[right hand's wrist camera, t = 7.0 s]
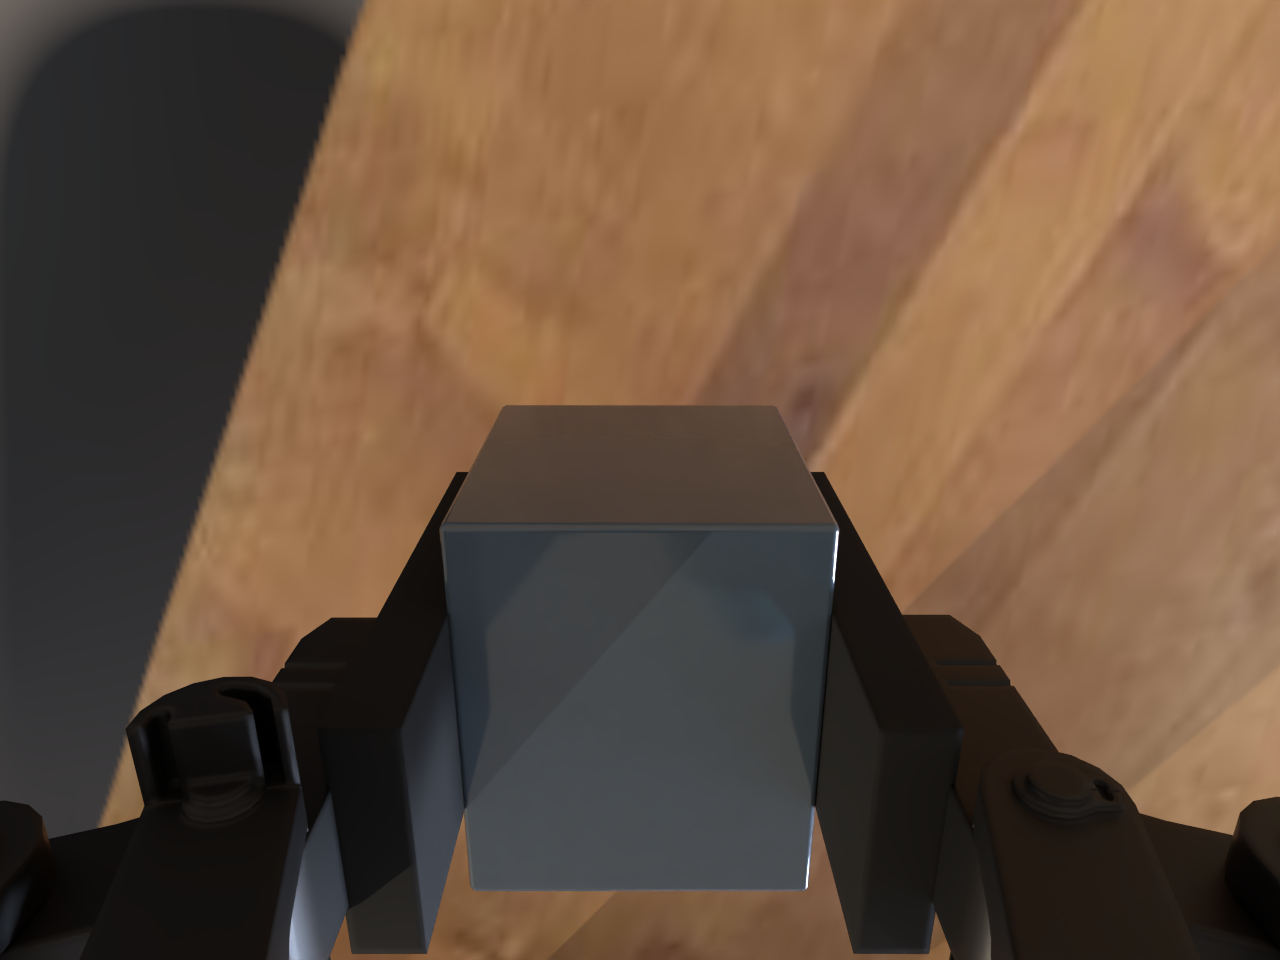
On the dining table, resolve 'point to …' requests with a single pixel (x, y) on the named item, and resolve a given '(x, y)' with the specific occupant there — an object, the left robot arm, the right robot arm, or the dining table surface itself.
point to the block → (639, 649)
